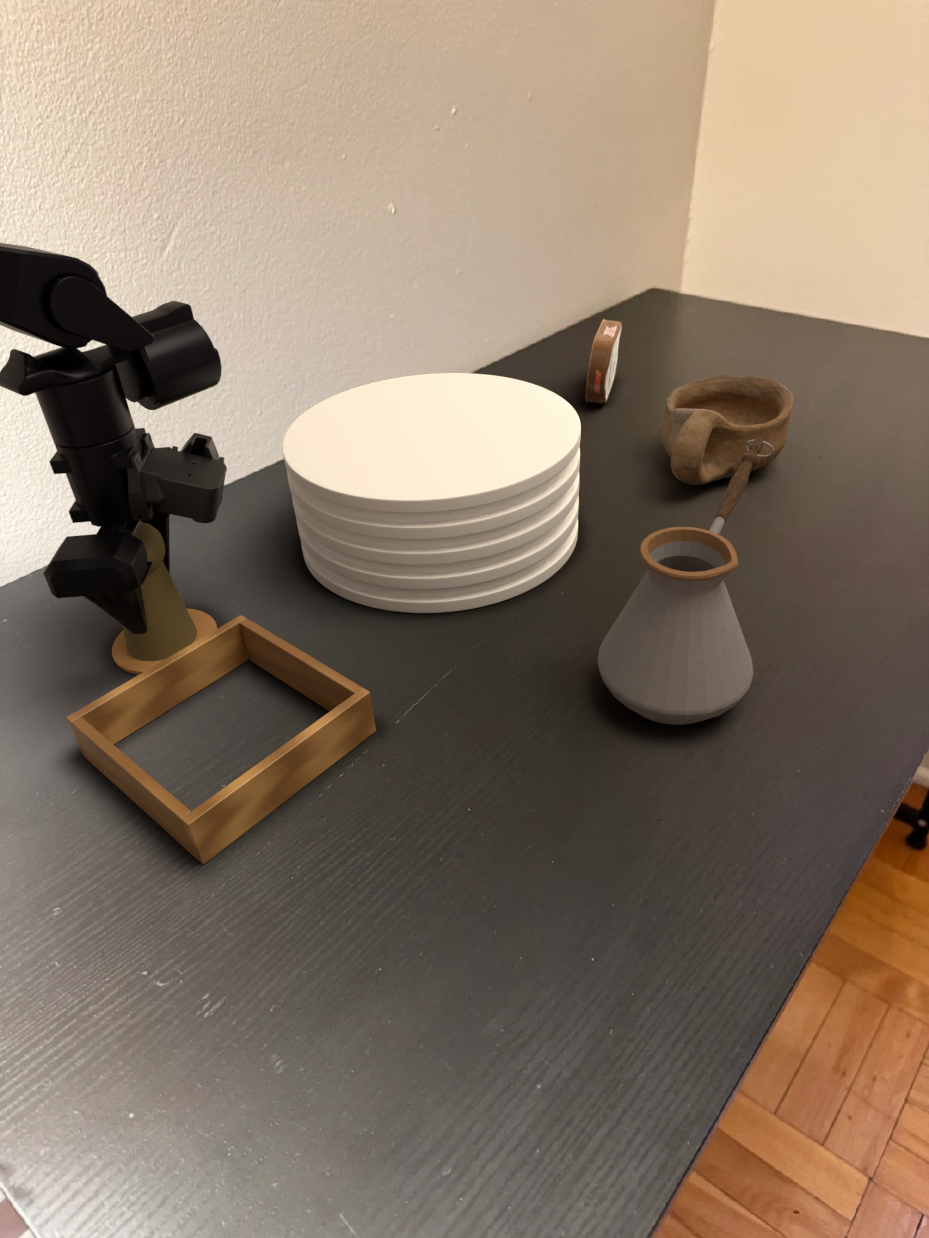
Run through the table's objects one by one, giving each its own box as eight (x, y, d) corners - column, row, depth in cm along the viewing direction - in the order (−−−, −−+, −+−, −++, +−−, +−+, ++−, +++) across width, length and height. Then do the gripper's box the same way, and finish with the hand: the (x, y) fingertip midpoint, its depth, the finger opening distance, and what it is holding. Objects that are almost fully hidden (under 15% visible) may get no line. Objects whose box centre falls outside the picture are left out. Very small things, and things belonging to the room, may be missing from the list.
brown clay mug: (791, 507, 84) (777, 413, 79) (652, 522, 90) (631, 436, 85) (804, 431, 96) (794, 347, 92) (682, 449, 103) (666, 371, 98)
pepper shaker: (186, 660, 71) (150, 549, 65) (116, 662, 71) (73, 552, 65) (205, 617, 76) (173, 510, 69) (139, 619, 76) (101, 513, 70)
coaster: (149, 690, 69) (147, 686, 69) (93, 648, 74) (92, 644, 74) (238, 636, 74) (237, 632, 74) (181, 600, 79) (180, 596, 79)
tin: (599, 370, 119) (601, 310, 114) (621, 371, 119) (625, 310, 114) (582, 413, 108) (584, 348, 103) (607, 414, 107) (610, 349, 102)
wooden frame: (203, 865, 55) (187, 824, 52) (83, 756, 63) (65, 717, 61) (376, 731, 64) (370, 691, 61) (250, 651, 72) (240, 614, 70)
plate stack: (384, 653, 71) (367, 536, 64) (261, 520, 90) (238, 420, 84) (636, 545, 82) (644, 436, 75) (479, 447, 102) (474, 353, 95)
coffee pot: (717, 765, 59) (748, 589, 50) (570, 709, 64) (574, 541, 55) (802, 607, 73) (839, 447, 64) (676, 572, 78) (693, 420, 69)
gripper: (177, 481, 55) (230, 665, 64) (224, 376, 70) (261, 538, 79) (4, 495, 55) (83, 677, 64) (89, 387, 70) (142, 547, 79)
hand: (152, 603), depth 71 cm, fingers open, 8 cm apart
